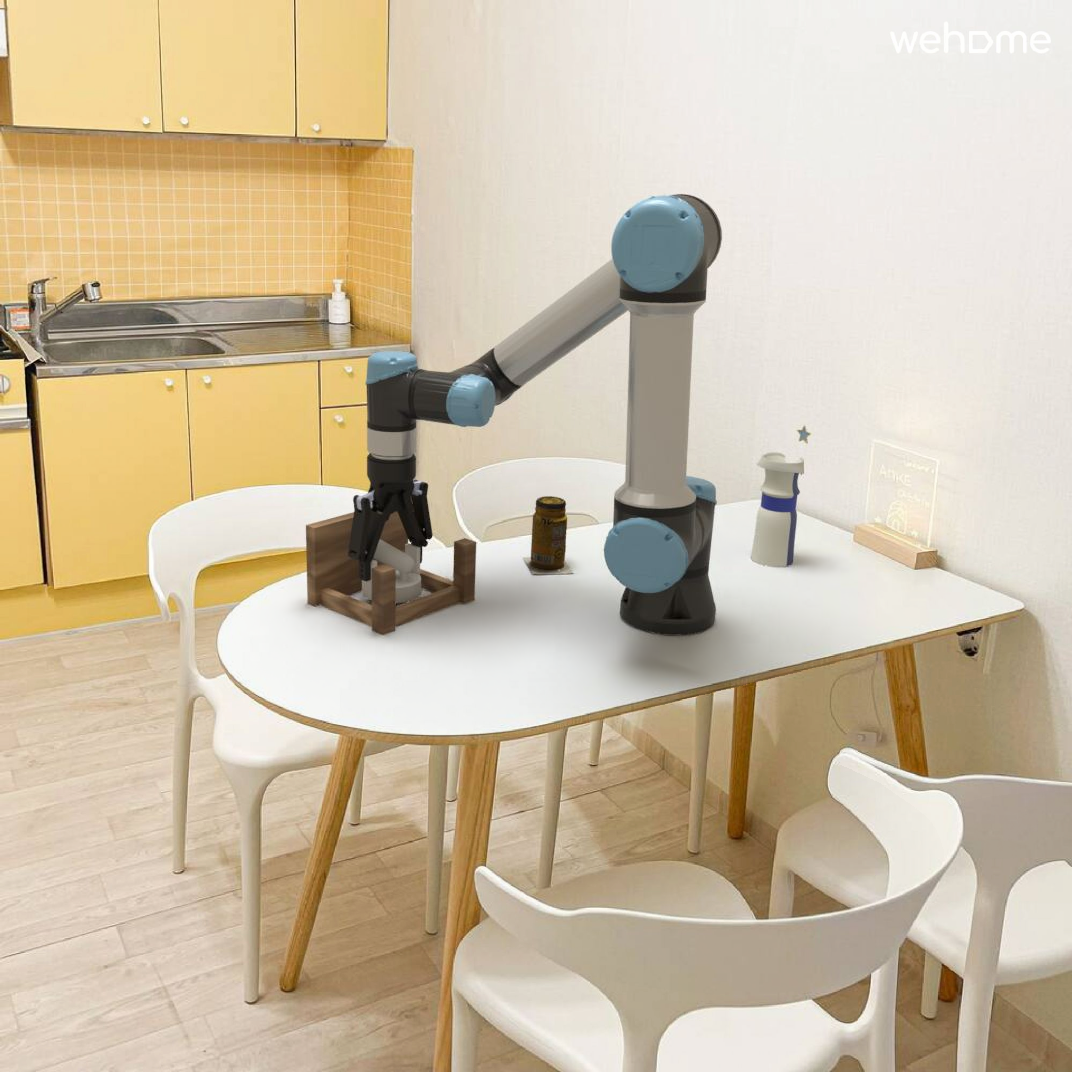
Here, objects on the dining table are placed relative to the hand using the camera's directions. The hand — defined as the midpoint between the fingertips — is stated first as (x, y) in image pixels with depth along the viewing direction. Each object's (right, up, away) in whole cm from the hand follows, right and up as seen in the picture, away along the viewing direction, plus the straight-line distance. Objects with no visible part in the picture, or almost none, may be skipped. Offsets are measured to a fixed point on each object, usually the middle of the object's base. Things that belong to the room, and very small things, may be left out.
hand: (391, 590), depth 185 cm
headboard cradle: (0, -2, +1) cm, 2 cm away
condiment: (+25, +3, +19) cm, 32 cm away
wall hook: (0, 0, 0) cm, 0 cm away
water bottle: (+66, +4, +28) cm, 72 cm away
